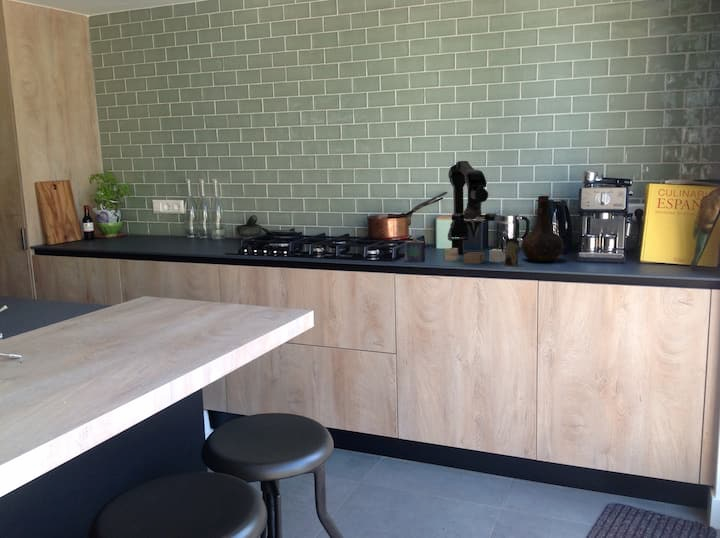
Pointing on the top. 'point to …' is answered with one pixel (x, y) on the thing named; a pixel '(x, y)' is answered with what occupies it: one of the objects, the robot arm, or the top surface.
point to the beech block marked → (451, 254)
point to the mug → (510, 251)
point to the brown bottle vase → (542, 237)
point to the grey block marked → (496, 255)
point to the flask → (414, 251)
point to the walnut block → (473, 257)
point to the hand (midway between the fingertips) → (474, 236)
